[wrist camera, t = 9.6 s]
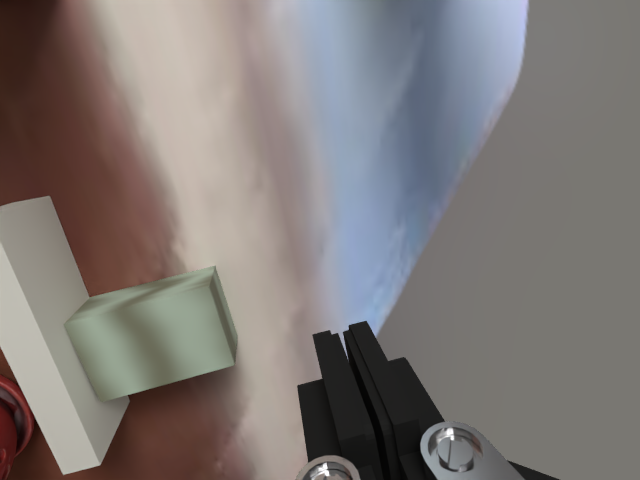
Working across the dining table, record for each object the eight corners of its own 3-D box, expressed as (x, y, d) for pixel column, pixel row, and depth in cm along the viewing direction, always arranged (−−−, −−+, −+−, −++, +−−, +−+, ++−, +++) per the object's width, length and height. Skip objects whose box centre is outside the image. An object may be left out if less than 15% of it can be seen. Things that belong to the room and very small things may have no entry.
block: (215, 264, 38) (208, 286, 32) (237, 334, 40) (234, 365, 35) (90, 296, 36) (63, 324, 31) (121, 365, 39) (100, 402, 34)
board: (49, 195, 33) (-12, 215, 26) (129, 401, 40) (100, 465, 32) (13, 202, 33) (-60, 224, 25) (100, 408, 39) (63, 474, 32)
